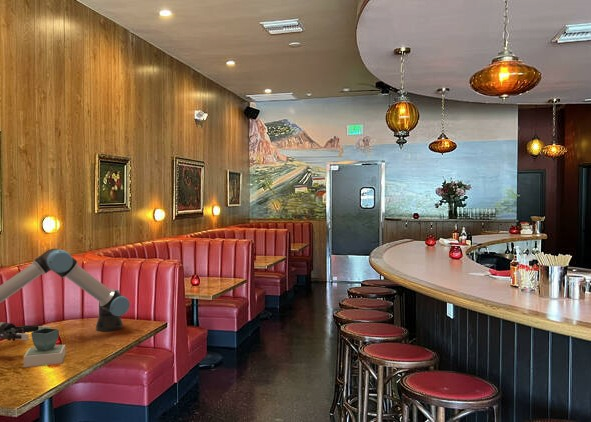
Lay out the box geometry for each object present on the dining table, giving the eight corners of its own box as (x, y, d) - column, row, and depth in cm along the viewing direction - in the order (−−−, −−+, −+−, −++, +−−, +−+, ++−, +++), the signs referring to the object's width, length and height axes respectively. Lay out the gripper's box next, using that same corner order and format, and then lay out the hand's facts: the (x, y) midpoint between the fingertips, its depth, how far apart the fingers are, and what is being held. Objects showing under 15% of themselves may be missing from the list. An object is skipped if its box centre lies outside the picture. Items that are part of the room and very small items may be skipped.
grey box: (65, 354, 242) (65, 343, 242) (61, 363, 229) (61, 351, 229) (29, 358, 237) (29, 347, 237) (23, 367, 224) (23, 355, 224)
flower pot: (46, 352, 228) (45, 333, 228) (30, 351, 230) (30, 332, 230) (59, 347, 236) (59, 329, 236) (45, 345, 239) (44, 327, 238)
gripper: (24, 331, 251) (58, 334, 245) (-19, 345, 227) (18, 348, 221) (24, 317, 251) (58, 319, 245) (-19, 329, 227) (17, 332, 221)
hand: (39, 333), depth 233 cm, fingers open, 13 cm apart
